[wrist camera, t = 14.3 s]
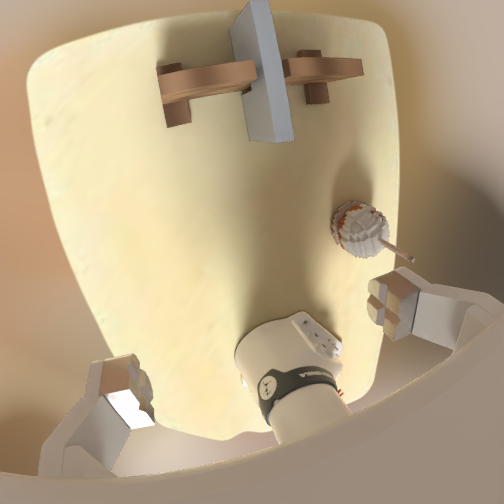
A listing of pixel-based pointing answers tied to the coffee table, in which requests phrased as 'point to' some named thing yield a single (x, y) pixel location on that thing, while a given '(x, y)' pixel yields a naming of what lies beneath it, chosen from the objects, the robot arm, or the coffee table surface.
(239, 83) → the walnut crosspiece
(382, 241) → the decorative ornament
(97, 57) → the coffee table surface
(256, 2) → the grey plate
